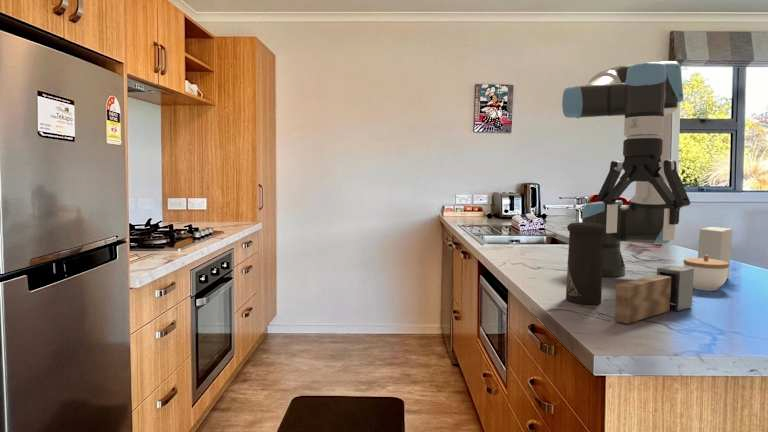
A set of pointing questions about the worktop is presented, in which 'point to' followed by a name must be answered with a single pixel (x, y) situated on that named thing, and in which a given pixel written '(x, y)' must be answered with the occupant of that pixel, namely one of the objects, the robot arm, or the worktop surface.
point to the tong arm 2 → (645, 299)
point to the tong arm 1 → (619, 295)
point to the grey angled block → (679, 285)
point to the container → (585, 263)
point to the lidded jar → (707, 272)
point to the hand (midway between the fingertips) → (638, 236)
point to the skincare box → (715, 244)
